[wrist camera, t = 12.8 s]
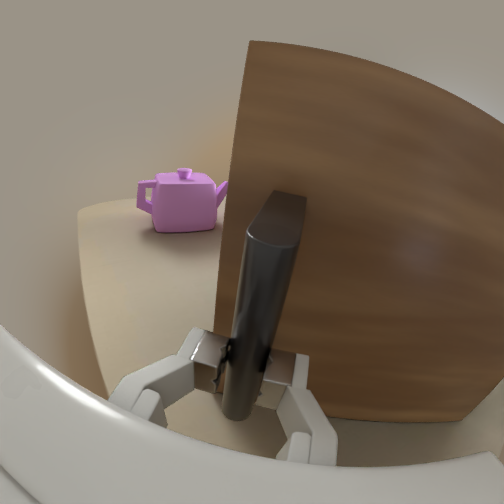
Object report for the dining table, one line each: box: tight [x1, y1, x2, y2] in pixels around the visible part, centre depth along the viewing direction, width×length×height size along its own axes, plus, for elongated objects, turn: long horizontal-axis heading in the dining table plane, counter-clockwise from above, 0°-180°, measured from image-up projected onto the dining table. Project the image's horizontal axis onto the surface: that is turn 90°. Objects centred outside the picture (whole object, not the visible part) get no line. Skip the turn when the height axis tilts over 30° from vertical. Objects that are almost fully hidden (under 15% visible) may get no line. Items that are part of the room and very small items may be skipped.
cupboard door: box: [213, 40, 504, 422], centre depth 11 cm, size 7×26×24 cm, turn 77°
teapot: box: [137, 168, 228, 232], centre depth 48 cm, size 18×10×10 cm, turn 114°
